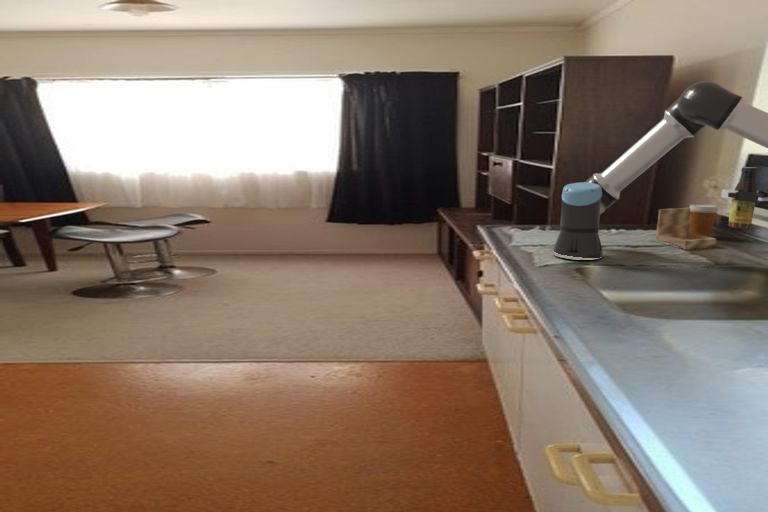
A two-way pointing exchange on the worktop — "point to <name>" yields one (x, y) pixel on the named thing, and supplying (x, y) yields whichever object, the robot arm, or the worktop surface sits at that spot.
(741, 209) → the sauce bottle
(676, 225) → the open wooden box
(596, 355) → the worktop surface
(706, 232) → the glass of beer
